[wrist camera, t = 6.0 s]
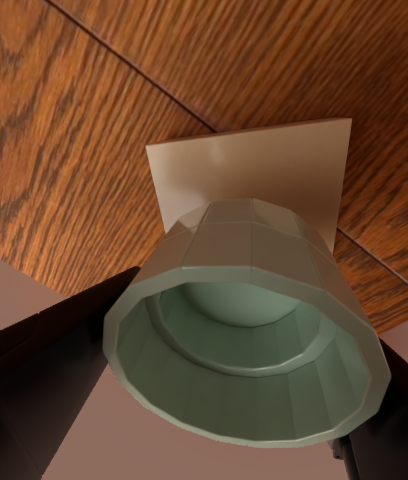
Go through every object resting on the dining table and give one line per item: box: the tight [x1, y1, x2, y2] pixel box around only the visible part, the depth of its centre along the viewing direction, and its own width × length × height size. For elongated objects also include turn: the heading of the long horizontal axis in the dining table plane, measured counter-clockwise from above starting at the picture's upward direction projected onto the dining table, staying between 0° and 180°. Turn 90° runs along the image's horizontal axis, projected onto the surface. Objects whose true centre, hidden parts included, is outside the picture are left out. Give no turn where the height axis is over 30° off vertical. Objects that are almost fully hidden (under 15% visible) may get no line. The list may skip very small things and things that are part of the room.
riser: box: [145, 118, 352, 255], centre depth 15 cm, size 10×10×3 cm
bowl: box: [102, 198, 391, 448], centre depth 8 cm, size 7×7×4 cm
